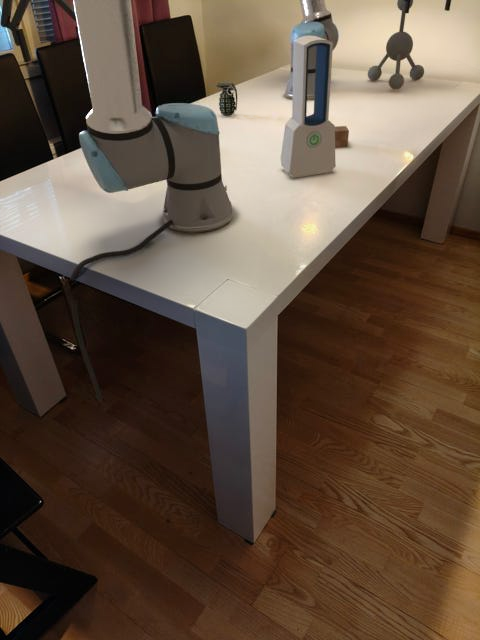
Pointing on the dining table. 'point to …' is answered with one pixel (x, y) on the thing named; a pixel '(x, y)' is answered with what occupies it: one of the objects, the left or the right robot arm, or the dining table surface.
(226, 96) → the grenade
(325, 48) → the electronic device
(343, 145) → the block
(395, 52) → the molecular model
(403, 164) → the dining table surface
